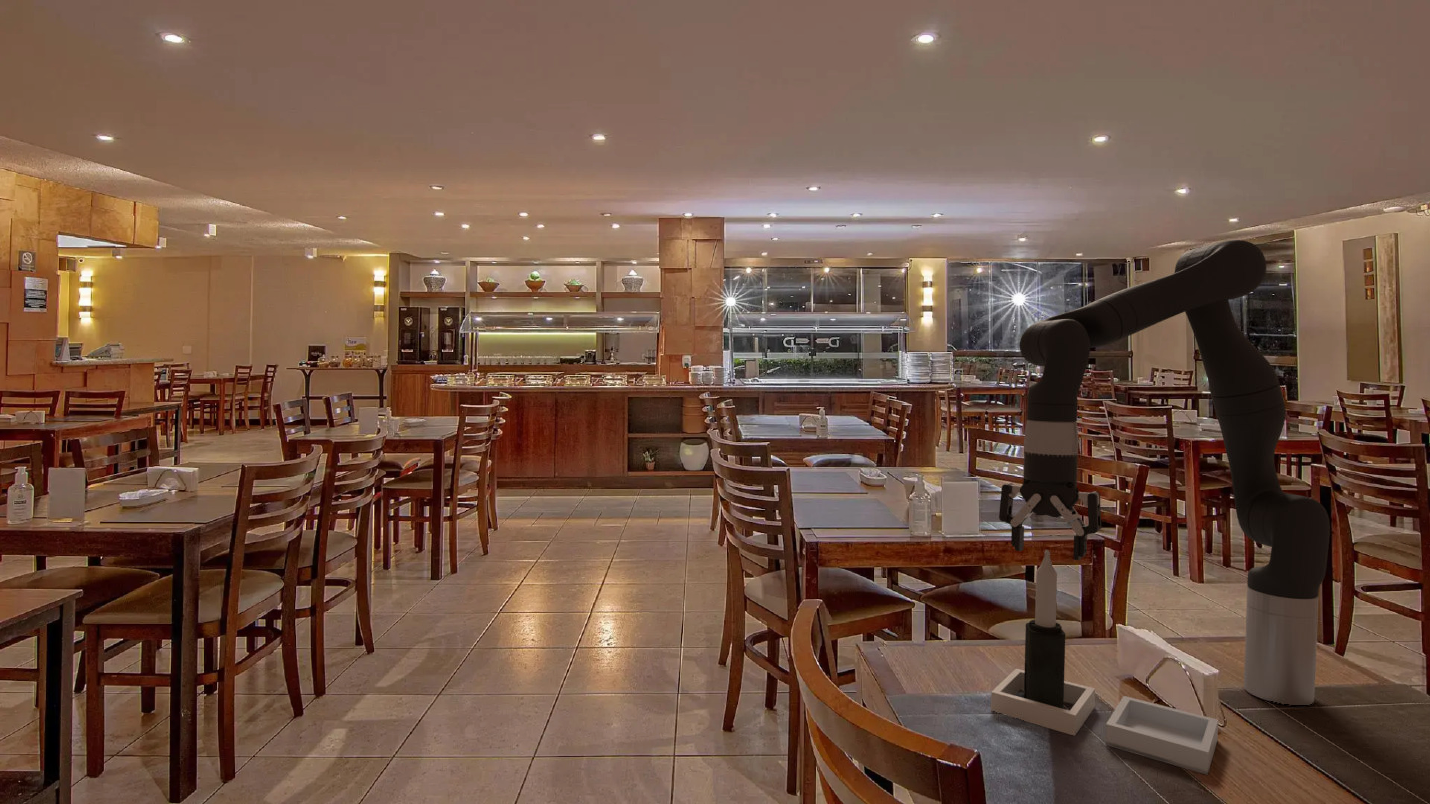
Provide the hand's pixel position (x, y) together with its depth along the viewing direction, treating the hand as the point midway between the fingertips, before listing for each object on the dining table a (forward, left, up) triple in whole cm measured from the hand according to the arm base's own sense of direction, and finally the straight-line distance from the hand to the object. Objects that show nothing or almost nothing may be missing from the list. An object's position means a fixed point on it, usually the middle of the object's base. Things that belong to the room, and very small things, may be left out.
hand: (1047, 554), depth 113 cm
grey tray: (0, +16, -24) cm, 29 cm away
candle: (0, 0, -25) cm, 24 cm away
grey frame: (0, 0, -24) cm, 24 cm away
